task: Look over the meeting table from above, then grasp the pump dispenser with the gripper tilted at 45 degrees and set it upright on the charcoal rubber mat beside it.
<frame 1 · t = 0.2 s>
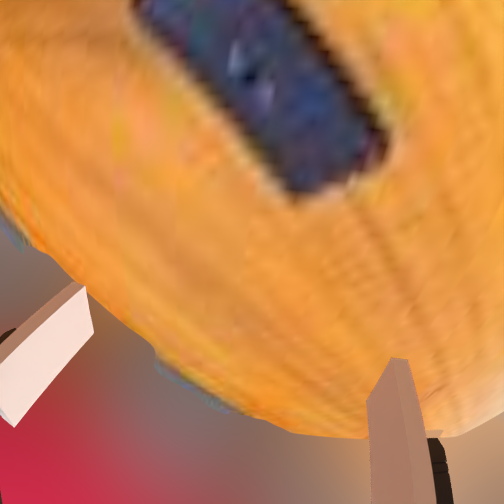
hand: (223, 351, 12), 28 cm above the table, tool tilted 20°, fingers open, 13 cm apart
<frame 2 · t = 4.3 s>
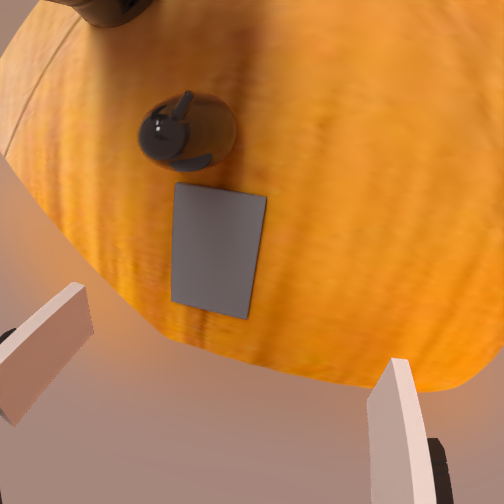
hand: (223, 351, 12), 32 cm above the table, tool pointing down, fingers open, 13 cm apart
pump dispenser: (206, 129, 39), on the table
mat: (214, 253, 46), on the table
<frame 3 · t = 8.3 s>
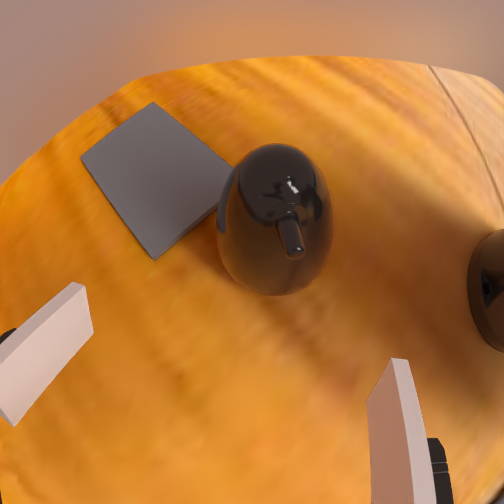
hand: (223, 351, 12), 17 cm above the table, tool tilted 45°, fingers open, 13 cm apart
pump dispenser: (274, 255, 31), on the table
mat: (152, 169, 35), on the table
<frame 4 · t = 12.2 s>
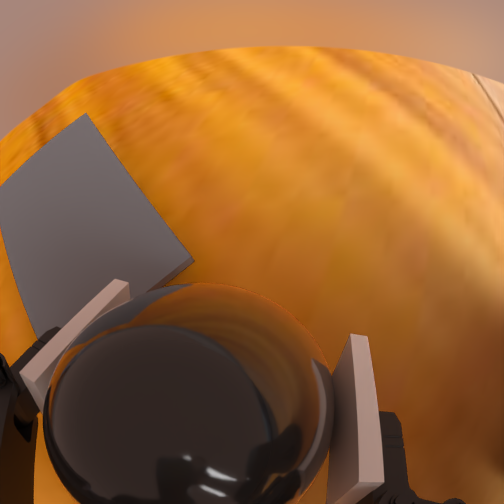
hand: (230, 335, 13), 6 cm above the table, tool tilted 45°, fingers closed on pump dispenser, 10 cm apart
pump dispenser: (230, 391, 17), on the table, touching gripper
mat: (67, 221, 22), on the table
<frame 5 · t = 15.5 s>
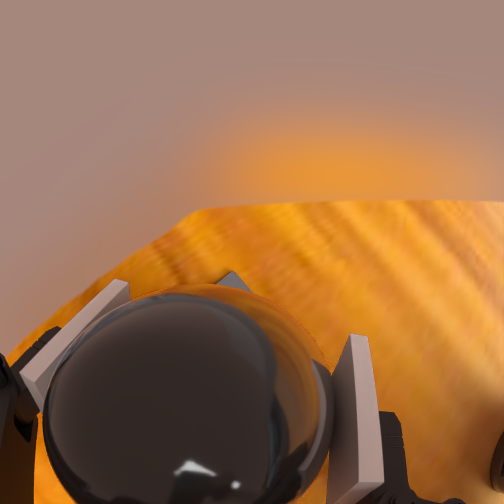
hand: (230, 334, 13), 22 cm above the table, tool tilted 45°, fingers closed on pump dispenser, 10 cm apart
pump dispenser: (230, 392, 17), point 16 cm above the table, touching gripper
mat: (244, 373, 33), on the table
when the fingers open (8 cm above the table, at t = 18.7 s): pump dispenser drops 1 cm, resting on mat.
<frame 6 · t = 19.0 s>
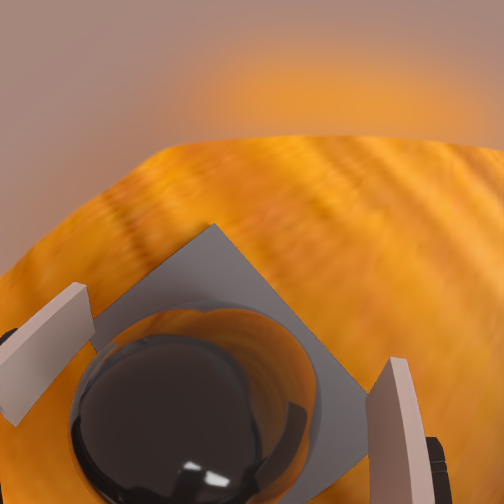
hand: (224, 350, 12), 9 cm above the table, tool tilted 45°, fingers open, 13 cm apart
pump dispenser: (229, 391, 19), point 1 cm above the table, touching mat
mat: (232, 388, 20), on the table
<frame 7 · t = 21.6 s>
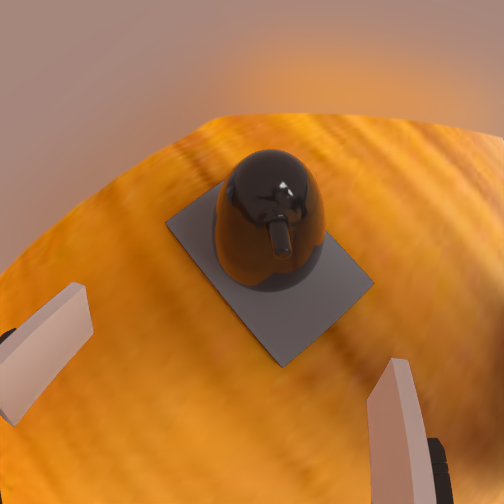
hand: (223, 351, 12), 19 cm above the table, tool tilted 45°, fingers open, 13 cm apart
pump dispenser: (266, 253, 32), point 1 cm above the table, touching mat
mat: (267, 255, 33), on the table
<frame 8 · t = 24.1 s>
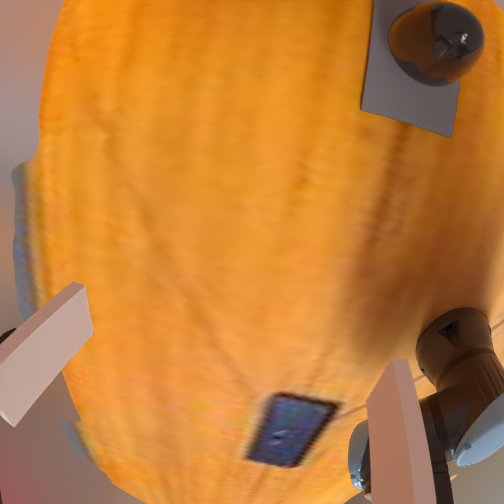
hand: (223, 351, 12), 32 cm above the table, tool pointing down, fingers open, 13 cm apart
pump dispenser: (417, 53, 29), point 1 cm above the table, touching mat
mat: (416, 55, 29), on the table
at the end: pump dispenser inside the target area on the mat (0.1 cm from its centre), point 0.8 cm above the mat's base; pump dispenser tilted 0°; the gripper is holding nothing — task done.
